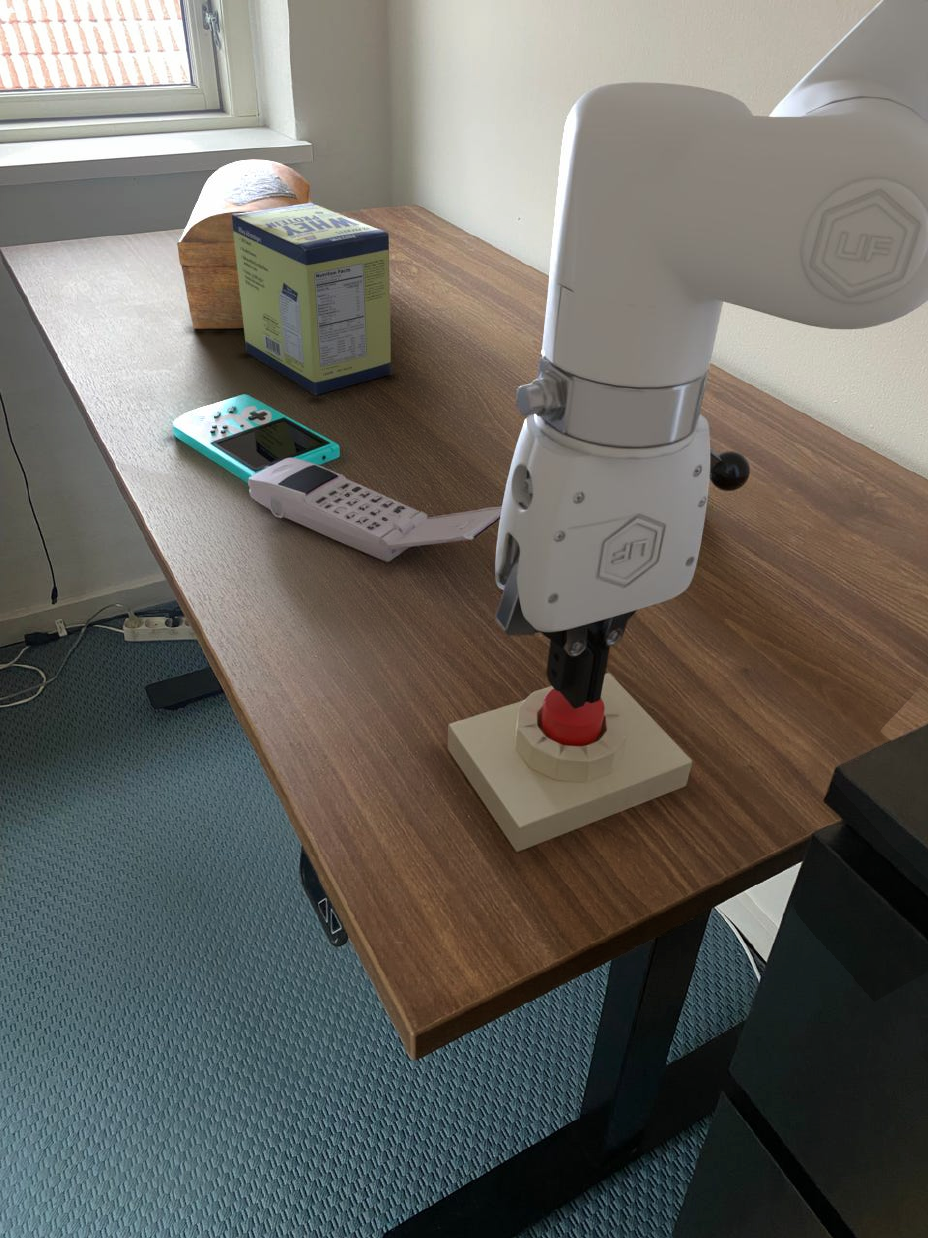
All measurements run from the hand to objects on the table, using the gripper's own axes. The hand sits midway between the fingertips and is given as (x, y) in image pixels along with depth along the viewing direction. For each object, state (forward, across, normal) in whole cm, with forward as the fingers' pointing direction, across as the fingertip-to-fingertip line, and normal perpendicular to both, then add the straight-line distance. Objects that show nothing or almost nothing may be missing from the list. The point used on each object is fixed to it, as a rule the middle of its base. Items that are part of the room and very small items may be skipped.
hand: (573, 689), depth 54 cm
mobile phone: (+7, -1, +30) cm, 31 cm away
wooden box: (+7, +9, +94) cm, 94 cm away
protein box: (+7, +8, +67) cm, 67 cm away
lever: (0, +24, +23) cm, 33 cm away
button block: (+6, 0, 0) cm, 7 cm away
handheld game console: (+7, -5, +50) cm, 51 cm away
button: (+3, 0, 0) cm, 3 cm away
